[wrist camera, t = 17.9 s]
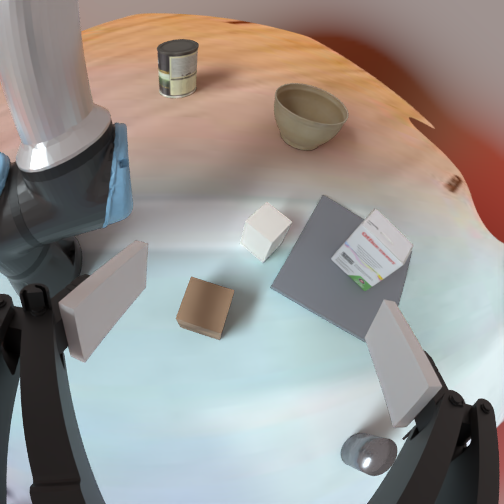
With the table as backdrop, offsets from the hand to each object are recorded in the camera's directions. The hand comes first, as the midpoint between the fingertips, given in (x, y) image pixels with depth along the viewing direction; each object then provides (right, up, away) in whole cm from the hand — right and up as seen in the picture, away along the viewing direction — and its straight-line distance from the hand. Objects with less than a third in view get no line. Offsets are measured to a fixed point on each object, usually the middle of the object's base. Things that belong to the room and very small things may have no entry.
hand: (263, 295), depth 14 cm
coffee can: (-21, +46, +50) cm, 71 cm away
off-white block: (+1, +4, +32) cm, 33 cm away
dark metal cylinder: (+16, -29, +19) cm, 38 cm away
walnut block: (-7, -7, +26) cm, 28 cm away
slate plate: (+17, -1, +33) cm, 37 cm away
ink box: (+17, -1, +32) cm, 37 cm away
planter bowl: (+11, +29, +47) cm, 56 cm away
